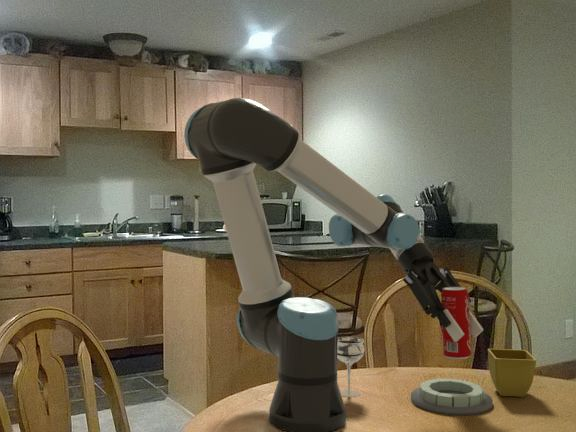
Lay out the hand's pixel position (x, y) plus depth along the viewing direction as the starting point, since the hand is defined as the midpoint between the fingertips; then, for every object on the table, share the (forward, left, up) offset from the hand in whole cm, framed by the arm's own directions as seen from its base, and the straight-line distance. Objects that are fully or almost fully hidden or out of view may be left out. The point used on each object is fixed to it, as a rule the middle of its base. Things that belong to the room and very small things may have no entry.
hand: (469, 335), depth 140 cm
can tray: (-3, +3, -15) cm, 15 cm away
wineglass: (-24, +10, -15) cm, 30 cm away
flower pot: (+12, +7, -15) cm, 21 cm away
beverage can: (-2, +3, -5) cm, 7 cm away
